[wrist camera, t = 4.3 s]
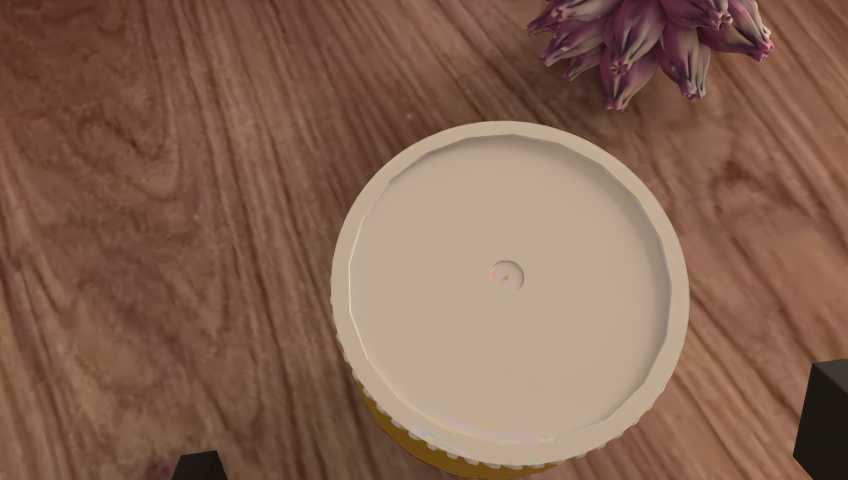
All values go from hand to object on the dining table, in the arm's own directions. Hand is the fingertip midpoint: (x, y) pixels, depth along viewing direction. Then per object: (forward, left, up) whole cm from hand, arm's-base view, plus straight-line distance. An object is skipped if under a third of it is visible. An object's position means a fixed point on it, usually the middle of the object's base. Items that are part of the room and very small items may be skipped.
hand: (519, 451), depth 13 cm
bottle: (+3, +1, -11) cm, 11 cm away
